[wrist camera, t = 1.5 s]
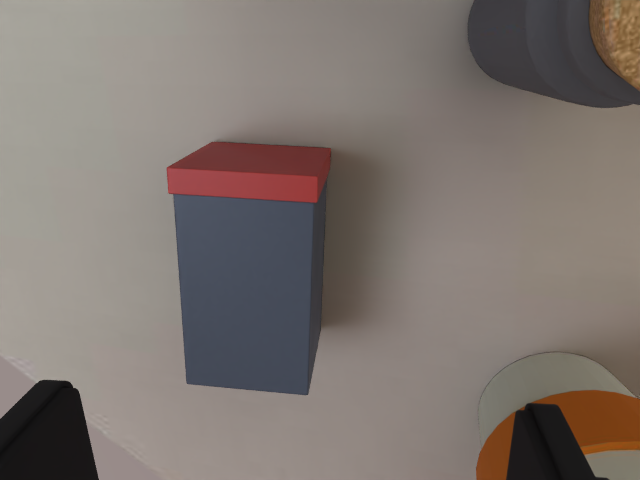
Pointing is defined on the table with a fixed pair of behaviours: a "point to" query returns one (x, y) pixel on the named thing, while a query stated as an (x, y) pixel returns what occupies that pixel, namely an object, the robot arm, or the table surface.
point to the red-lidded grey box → (251, 263)
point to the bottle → (561, 48)
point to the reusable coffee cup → (577, 407)
